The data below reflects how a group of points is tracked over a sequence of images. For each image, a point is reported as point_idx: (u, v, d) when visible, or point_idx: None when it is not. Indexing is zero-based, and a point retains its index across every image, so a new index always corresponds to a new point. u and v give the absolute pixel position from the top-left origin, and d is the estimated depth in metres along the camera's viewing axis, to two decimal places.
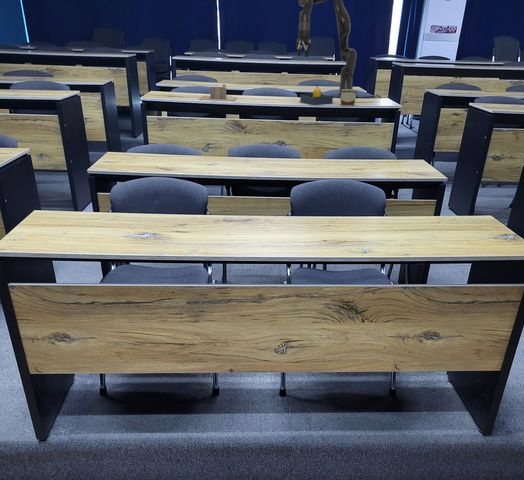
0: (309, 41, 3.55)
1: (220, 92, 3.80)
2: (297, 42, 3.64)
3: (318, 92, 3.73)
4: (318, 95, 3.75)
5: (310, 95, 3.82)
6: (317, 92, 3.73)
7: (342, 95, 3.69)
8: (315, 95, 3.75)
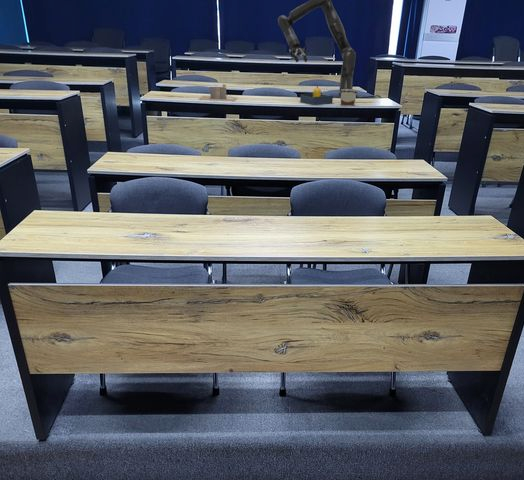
0: (289, 50, 3.78)
1: (220, 92, 3.80)
2: None
3: (318, 92, 3.73)
4: (318, 95, 3.75)
5: (310, 95, 3.82)
6: (317, 92, 3.73)
7: (342, 95, 3.69)
8: (315, 95, 3.75)
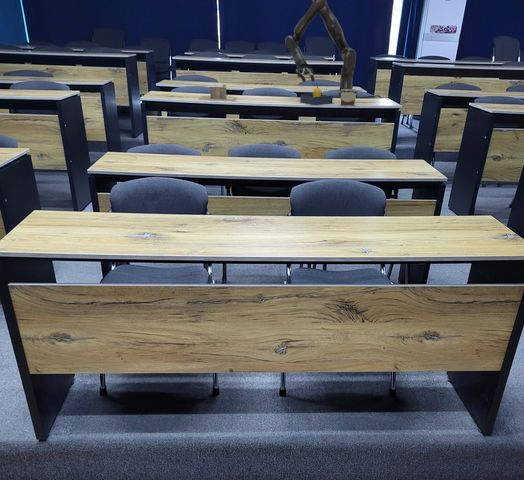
0: (296, 70, 3.76)
1: (220, 92, 3.80)
2: None
3: (318, 92, 3.73)
4: (318, 95, 3.75)
5: (310, 95, 3.82)
6: (317, 92, 3.73)
7: (342, 95, 3.69)
8: (315, 95, 3.75)
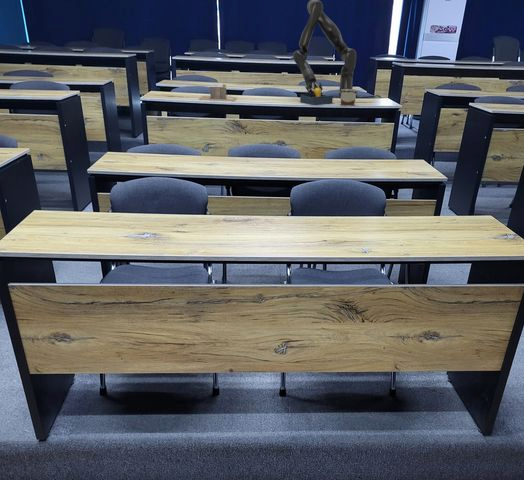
0: (305, 86, 3.74)
1: (220, 92, 3.80)
2: None
3: (318, 92, 3.73)
4: (318, 95, 3.75)
5: (310, 95, 3.82)
6: (317, 92, 3.73)
7: (342, 95, 3.69)
8: None
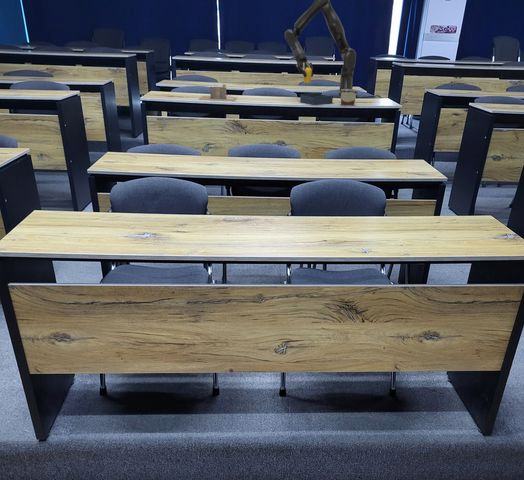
0: (296, 65, 3.75)
1: (220, 92, 3.80)
2: None
3: (309, 71, 3.74)
4: (309, 75, 3.76)
5: (310, 95, 3.82)
6: (308, 71, 3.74)
7: (342, 95, 3.69)
8: None
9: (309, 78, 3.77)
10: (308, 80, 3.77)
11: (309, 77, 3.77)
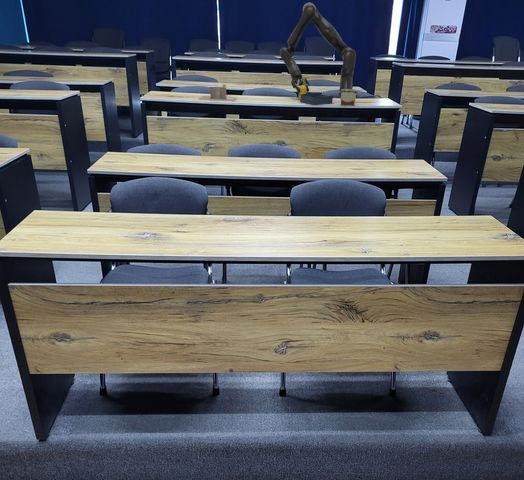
0: (291, 81, 3.84)
1: (220, 92, 3.80)
2: None
3: (304, 89, 3.84)
4: (304, 92, 3.85)
5: (310, 95, 3.82)
6: (303, 89, 3.84)
7: (342, 95, 3.69)
8: (301, 92, 3.85)
9: None
10: None
11: None
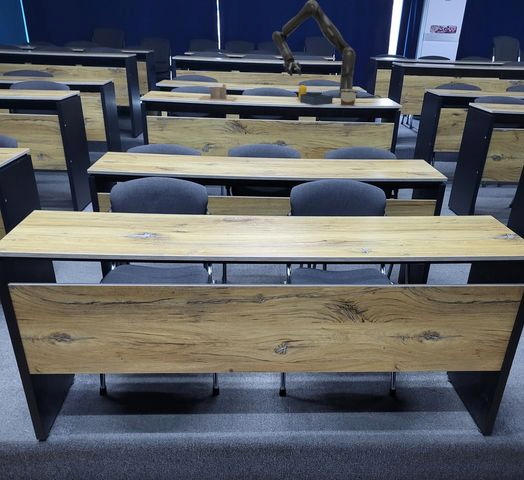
0: (283, 65, 3.89)
1: (220, 92, 3.80)
2: None
3: (304, 89, 3.84)
4: (304, 92, 3.85)
5: (310, 95, 3.82)
6: (303, 89, 3.84)
7: (342, 95, 3.69)
8: (301, 92, 3.85)
9: None
10: None
11: None
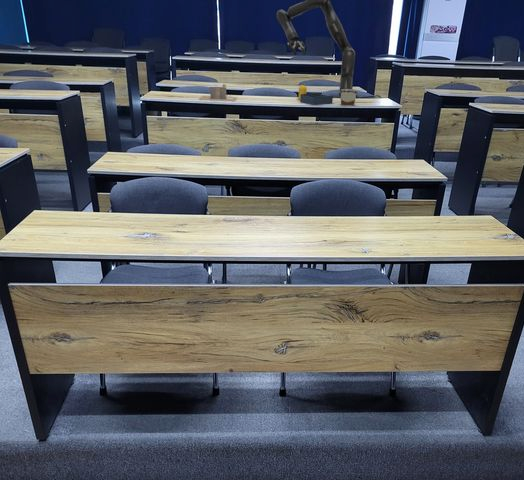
0: (288, 43, 3.84)
1: (220, 92, 3.80)
2: None
3: (304, 89, 3.84)
4: (304, 92, 3.85)
5: (310, 95, 3.82)
6: (303, 89, 3.84)
7: (342, 95, 3.69)
8: (301, 92, 3.85)
9: None
10: None
11: None
